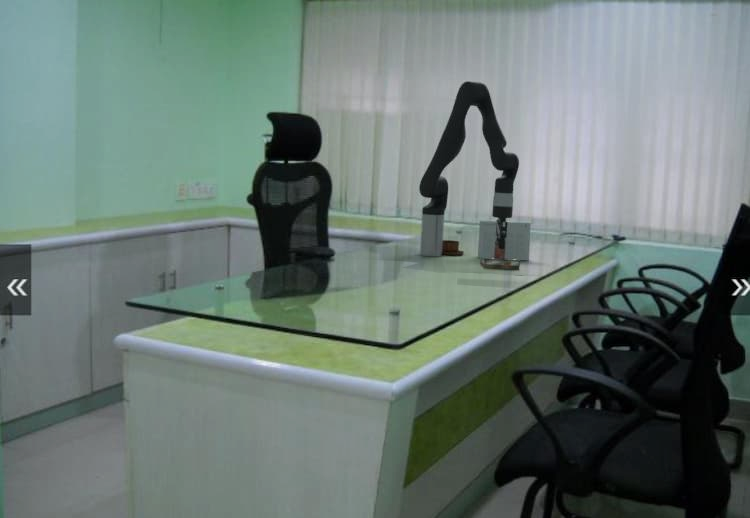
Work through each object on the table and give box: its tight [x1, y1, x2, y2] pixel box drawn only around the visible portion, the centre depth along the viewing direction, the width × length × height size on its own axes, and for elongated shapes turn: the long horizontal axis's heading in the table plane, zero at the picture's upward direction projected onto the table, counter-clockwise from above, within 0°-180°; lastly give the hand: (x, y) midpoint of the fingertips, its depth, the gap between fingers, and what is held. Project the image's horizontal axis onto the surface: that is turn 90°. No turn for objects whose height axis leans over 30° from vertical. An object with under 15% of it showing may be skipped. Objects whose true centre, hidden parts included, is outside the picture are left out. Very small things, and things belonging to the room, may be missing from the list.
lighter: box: [494, 235, 506, 259], centre depth 315 cm, size 8×3×10 cm, turn 152°
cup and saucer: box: [442, 239, 465, 257], centre depth 350 cm, size 12×12×6 cm
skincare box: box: [477, 220, 532, 262], centre depth 343 cm, size 21×6×16 cm, turn 84°
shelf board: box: [479, 258, 521, 271], centre depth 315 cm, size 13×17×4 cm
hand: (500, 247), depth 315 cm, fingers closed on lighter, 7 cm apart
